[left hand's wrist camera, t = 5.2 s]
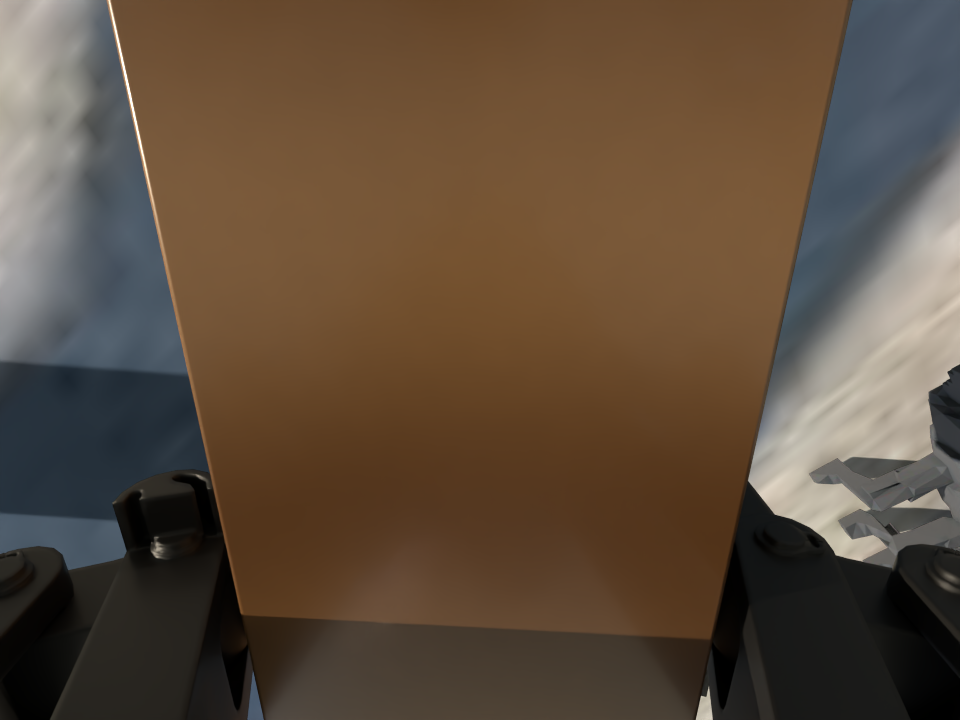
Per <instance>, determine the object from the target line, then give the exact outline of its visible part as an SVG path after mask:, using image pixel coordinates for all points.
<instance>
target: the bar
mask: <svg viewBox="0 0 960 720" xmlns="http://www.w3.org/2000/svg"><path fill="white" fill-rule="evenodd" d="M852 1H853V0H107V4H108V9H109V14H110V18H111V23H112V27H113V32H114V36H115V41H116V46H117V50H118V55H119V59H120V64H121V68H122V73H123V78H124V82H125V87H126V91H127V96H128V100H129V105H130V110H131V114H132V119H133V123H134V128H135V132H136V137H137V142H138V146H139V151H140V155H141V160H142V164H143V169H144V174H145V178H146V183H147V187H148V192H149V196H150V201H151V205H152V210H153V215H154V219H155V224H156V228H157V233H158V237H159V242H160V247H161V251H162V256H163V260H164V265H165V269H166V274H167V279H168V283H169V288H170V292H171V297H172V301H173V306H174V311H175V315H176V320H177V324H178V329H179V333H180V338H181V343H182V347H183V352H184V356H185V361H186V365H187V370H188V375H189V379H190V384H191V388H192V393H193V397H194V402H195V407H196V411H197V416H198V420H199V425H200V429H201V434H202V439H203V443H204V448H205V452H206V457H207V461H208V466H209V471H210V475H211V480H212V484H213V489H214V493H215V498H216V503H217V507H218V512H219V516H220V521H221V525H222V530H223V535H224V539H225V544H226V548H227V553H228V557H229V562H230V567H231V571H232V576H233V580H234V585H235V589H236V594H237V598H238V603H239V608H240V612H241V617H242V621H243V626H244V630H245V635H246V640H247V644H248V649H249V653H250V658H251V662H252V667H253V672H254V676H255V681H256V685H257V690H258V694H259V699H260V704H261V708H262V713H263V717H264V720H696V716H697V711H698V707H699V702H700V698H701V693H702V688H703V684H704V679H705V675H706V670H707V665H708V661H709V656H710V652H711V647H712V643H713V638H714V633H715V629H716V624H717V620H718V615H719V611H720V606H721V601H722V597H723V592H724V588H725V583H726V578H727V574H728V569H729V565H730V560H731V556H732V551H733V546H734V542H735V537H736V533H737V528H738V523H739V519H740V514H741V510H742V505H743V501H744V496H745V491H746V487H747V482H748V478H749V473H750V469H751V464H752V459H753V455H754V450H755V446H756V441H757V436H758V432H759V427H760V423H761V418H762V414H763V409H764V404H765V400H766V395H767V391H768V386H769V382H770V377H771V372H772V368H773V363H774V359H775V354H776V349H777V345H778V340H779V336H780V331H781V327H782V322H783V317H784V313H785V308H786V304H787V299H788V294H789V290H790V285H791V281H792V276H793V272H794V267H795V262H796V258H797V253H798V249H799V244H800V240H801V235H802V230H803V226H804V221H805V217H806V212H807V207H808V203H809V198H810V194H811V189H812V185H813V180H814V175H815V171H816V166H817V162H818V157H819V152H820V148H821V143H822V139H823V134H824V130H825V125H826V120H827V116H828V111H829V107H830V102H831V98H832V93H833V88H834V84H835V79H836V75H837V70H838V65H839V61H840V56H841V52H842V47H843V43H844V38H845V33H846V29H847V24H848V20H849V15H850V10H851V6H852Z"/></svg>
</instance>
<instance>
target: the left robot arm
mask: <svg viewBox="0 0 960 720" xmlns="http://www.w3.org/2000/svg"><path fill="white" fill-rule="evenodd" d="M112 504H113V507H114V511H115V514H116V517H117V521H118V524H119V527H120V530H121V534H122V537H123V540H124V543H125V547H126V550H127V552H126V554H125V556H124V558H121V559H118V560H114V561H110V562H105V563H100V564H96V565H91V566H86V567H82V568H77V569H72V570H68V569H67V566H66V563H65V560H64V558H63V555H62V554H61V553H60V552H58V551H57V550H56V549H54V548H49V547H41V546H36V547H29V548H22V549H17V550H13V551H9V552H7V553H2V554H0V720H247V717H248V708H249V699H250V691H251V682H252V673H253V667H252V662H251V658H250V653H249V649H248V644H247V640H246V635H245V630H244V626H243V621H242V617H241V612H240V608H239V603H238V598H237V594H236V589H235V585H234V580H233V576H232V571H231V567H230V562H229V557H228V553H227V548H226V544H225V539H224V535H223V530H222V525H221V521H220V516H219V512H218V507H217V503H216V498H215V493H214V489H213V484H212V480H211V475H210V474H209V473H208V472H203V471H199V470H194V469H192V470H175V471H171V472H166V473H162V474H157V475H155V476H152V477H150V478H147V479H145V480H142V481H140V482H138V483H136V484H134V485H133V486H131V487H130V488H128V489H127V490H125V491H124V492H122V493H121V494H120V495H119V497H118V498H117V499H116V500H115V501H114V502H113V503H112ZM708 687H709V689H710V698H711V707H712V715H713V720H960V551H957V550H956V551H955V550H953V549H950V548H946V547H942V546H935V545H928V544H915V545H907V546H905V547H904V548H903V549H901V550H900V551H899V552H898V553H897V556H896V559H895V562H894V565H893V567H892V568H890V567H885V566H880V565H876V564H871V563H866V562H861V561H857V560H852V559H847V558H844V557H840V556H836V555H835V553H834V551H833V550H832V548H831V547H830V545H829V544H828V543H827V541H826V540H825V539H824V538H823V537H822V536H820V535H819V534H818V533H816V532H815V531H814V530H812V529H811V528H810V527H807V526H805V525H803V524H801V523H799V522H797V521H795V520H792V519H789V518H785V517H782V516H778V515H775V514H774V513H773V512H772V511H771V509H770V508H769V507H768V506H767V504H766V503H765V502H764V500H763V499H762V498H761V497H760V495H759V494H758V493H757V492H756V490H755V489H754V488H753V487H752V485H751V484H750V483H749V482H747V487H746V491H745V496H744V501H743V505H742V510H741V514H740V519H739V523H738V528H737V533H736V537H735V542H734V546H733V551H732V556H731V560H730V565H729V569H728V574H727V578H726V583H725V588H724V592H723V597H722V601H721V606H720V611H719V615H718V620H717V624H716V629H715V633H714V638H713V643H712V647H711V652H710V656H709V661H708V665H707V670H706V675H705V679H704V684H703V688H702V693H701V696H705V697H706V696H707V691H708Z"/></svg>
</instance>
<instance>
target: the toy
mask: <svg viewBox="0 0 960 720" xmlns="http://www.w3.org/2000/svg"><path fill="white" fill-rule="evenodd" d="M948 374H949V377H950V379H949V380H947V381H946V382H944V383H943V385H941V386H939V387H937V388H935V389H933V390H931V391H930V392H929V399H928V401H929V405H930V410H931V415H932V421H933V424H932V425H930V438H931V442H932V447H933V453H931V454H930V455H928V456H926V457H924V458H923V459H921V460H919V461H917V462H914V463H911V464H909V465H906V466H903V467H901V468H898V469H895V470H893V471H891V472H889V473H886V474H884V475H882V476H880V477H878V478H876V479H874V480H872V479H870V478H868V477H865V476H863V475H860V474H858V473H855V472H853V471H852V470H851V469H849V468H848V467H847V466H846V465H845V464H843V463H842V462H841V461H840V460H839V459H838V458H837V459H835V460H833V461H832V462H830V463H828V464H826V465H824V466H822V467H821V468H819V469H817V470H815V471H813V472H811V473H810V476H811V478H812V479H813V481H814V482H816V483H819V484H840V483H842V484H843V485H845V486H846V487H847V488H848V489H849V490H850V491H851V492H853V493H854V494H855V495H856V496H857V497H858V498H859V499H860V500H862V501H863V502H864V503H865V504H866V505H867V506H868V507H870V508H871V509H872V510H875V511H884V510H886V509H888V508H890V507H892V506H894V505H897V504H899V503H901V502H903V501H905V500H907V499H908V500H909V501H910V502H912V501H914V500H916V499H918V498H920V497H921V496H923V495H925V494H927V493H929V492H930V491H932V490H934V489H938V491H939V493H940V496H941V498H942V500H943V501H944V502H945V503H946V504H947V505H948V506H949V508H950V511H951V515H952V518H948V517H941V518H939V519H937V520H934V521H932V522H929V523H927V524H925V525H922V526H920V527H917V528H915V529H913V530H910V531H907V532H904V533H899V532H898V531H897V530H896V528H895V527H894V526H893V525H892V524H891V523H889V524H888V525H887V526H886V527H884V526H883V525H882V524H881V523H880V522H879V521H878V520H877V519H876V518H875V517H874V516H873V515H871V514H869V513H867V512H865V511H863V510H861V509H859V510H857V511H855V512H853V513H852V514H850V515H848V516H846V517H844V518H842V519H840V520H838V521H839V523H840V524H841V526H842V528H843V529H844V531H845V532H846V533H847V534H848V535H849V536H850V538H851V539H856V538H861V537H865V536H870V535H874V536H876V537H878V538H879V539H880V540H881V541H882V542H883V543H884V544H885V545H886V546H887V547H888V548H887V549H885V550H883V551H881V552H879V553H877V554H875V555H873V556H871V557H868V558H866V559H864V560H863V561H864V562H866V563H871V564H876V565H880V566H885V567H890V568H892V567H893V565H894V562H895V559H896V556H897V553H898V552H899V551H900V550H901V549H903V548H904V547H905V546H907V545H915V544H928V545H935V546H942V547H946V548H958V547H960V365H958V366H956V367H954V368H952V369H951V370H950V371H948Z"/></svg>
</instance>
